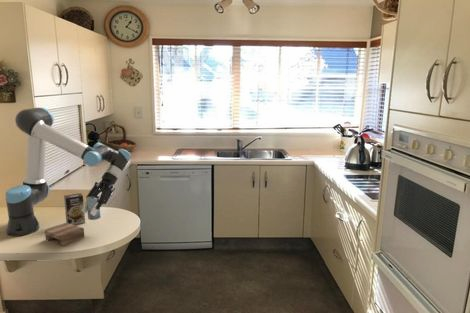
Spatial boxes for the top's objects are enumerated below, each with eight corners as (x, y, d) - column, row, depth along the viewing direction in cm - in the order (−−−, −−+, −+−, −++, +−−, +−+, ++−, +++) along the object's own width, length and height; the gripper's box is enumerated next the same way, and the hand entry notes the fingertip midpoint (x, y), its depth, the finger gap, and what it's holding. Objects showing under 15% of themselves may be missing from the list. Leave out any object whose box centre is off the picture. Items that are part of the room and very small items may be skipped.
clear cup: (85, 218, 184) (83, 198, 182) (95, 214, 189) (93, 194, 187) (93, 220, 181) (91, 200, 179) (103, 216, 186) (101, 196, 184)
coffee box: (68, 226, 196) (65, 198, 193) (66, 222, 201) (63, 195, 198) (85, 222, 201) (83, 195, 198) (83, 219, 206) (80, 192, 203)
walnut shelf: (45, 240, 179) (44, 230, 178) (67, 231, 189) (66, 222, 188) (63, 246, 172) (61, 236, 171) (84, 237, 182) (83, 228, 181)
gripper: (128, 181, 190) (105, 220, 180) (104, 176, 199) (80, 213, 189) (119, 173, 184) (95, 213, 174) (95, 169, 194) (71, 206, 184)
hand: (87, 213), depth 182 cm, fingers closed on clear cup, 6 cm apart
